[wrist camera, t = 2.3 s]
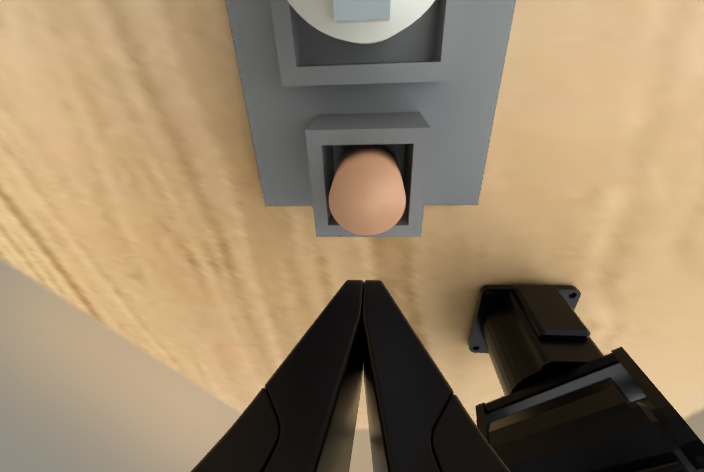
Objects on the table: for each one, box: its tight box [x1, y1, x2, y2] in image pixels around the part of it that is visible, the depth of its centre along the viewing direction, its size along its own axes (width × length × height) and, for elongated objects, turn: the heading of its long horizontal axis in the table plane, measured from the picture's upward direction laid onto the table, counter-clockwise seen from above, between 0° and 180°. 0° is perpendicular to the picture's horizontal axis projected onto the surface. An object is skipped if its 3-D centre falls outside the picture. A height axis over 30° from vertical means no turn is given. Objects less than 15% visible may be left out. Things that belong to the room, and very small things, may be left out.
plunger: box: [329, 144, 406, 236], centre depth 14 cm, size 3×3×3 cm
